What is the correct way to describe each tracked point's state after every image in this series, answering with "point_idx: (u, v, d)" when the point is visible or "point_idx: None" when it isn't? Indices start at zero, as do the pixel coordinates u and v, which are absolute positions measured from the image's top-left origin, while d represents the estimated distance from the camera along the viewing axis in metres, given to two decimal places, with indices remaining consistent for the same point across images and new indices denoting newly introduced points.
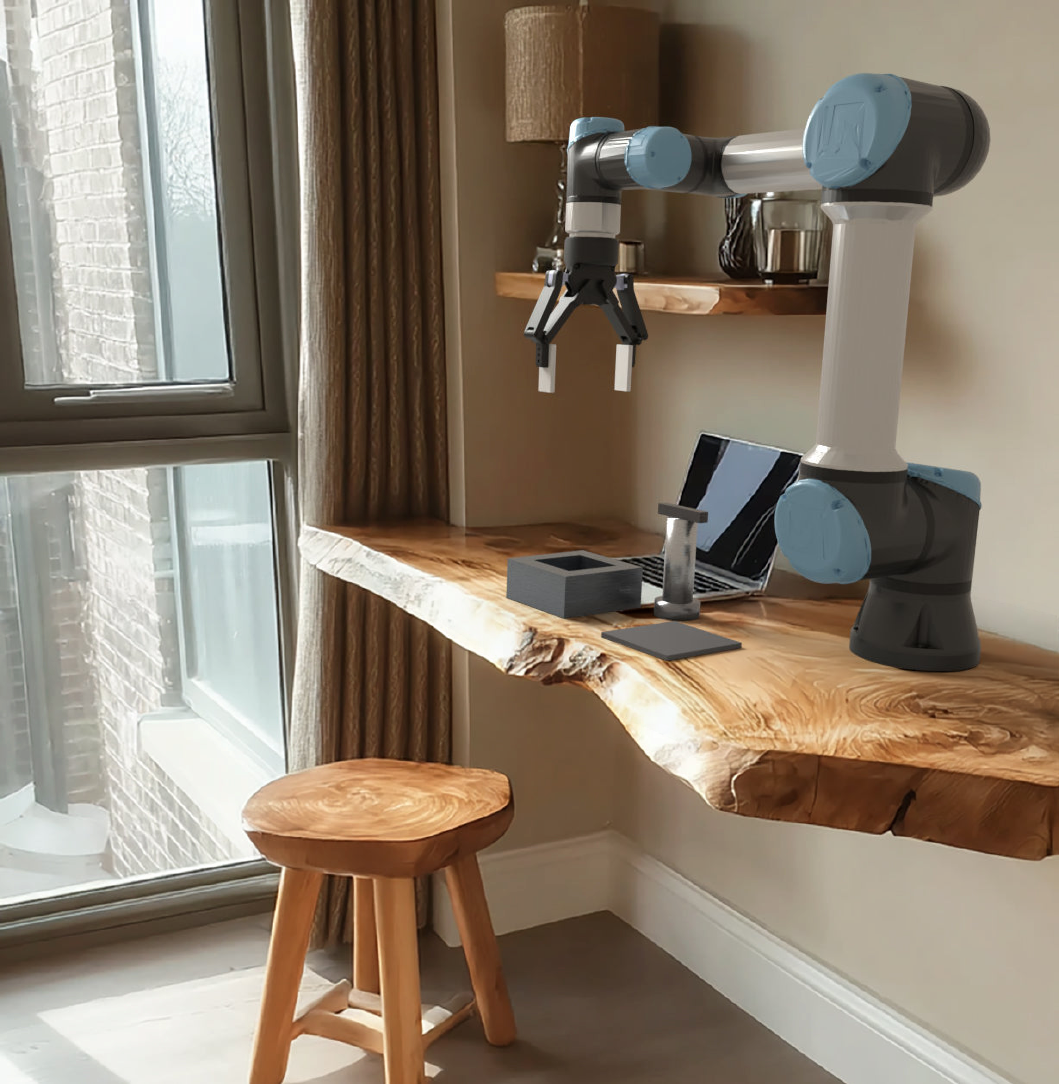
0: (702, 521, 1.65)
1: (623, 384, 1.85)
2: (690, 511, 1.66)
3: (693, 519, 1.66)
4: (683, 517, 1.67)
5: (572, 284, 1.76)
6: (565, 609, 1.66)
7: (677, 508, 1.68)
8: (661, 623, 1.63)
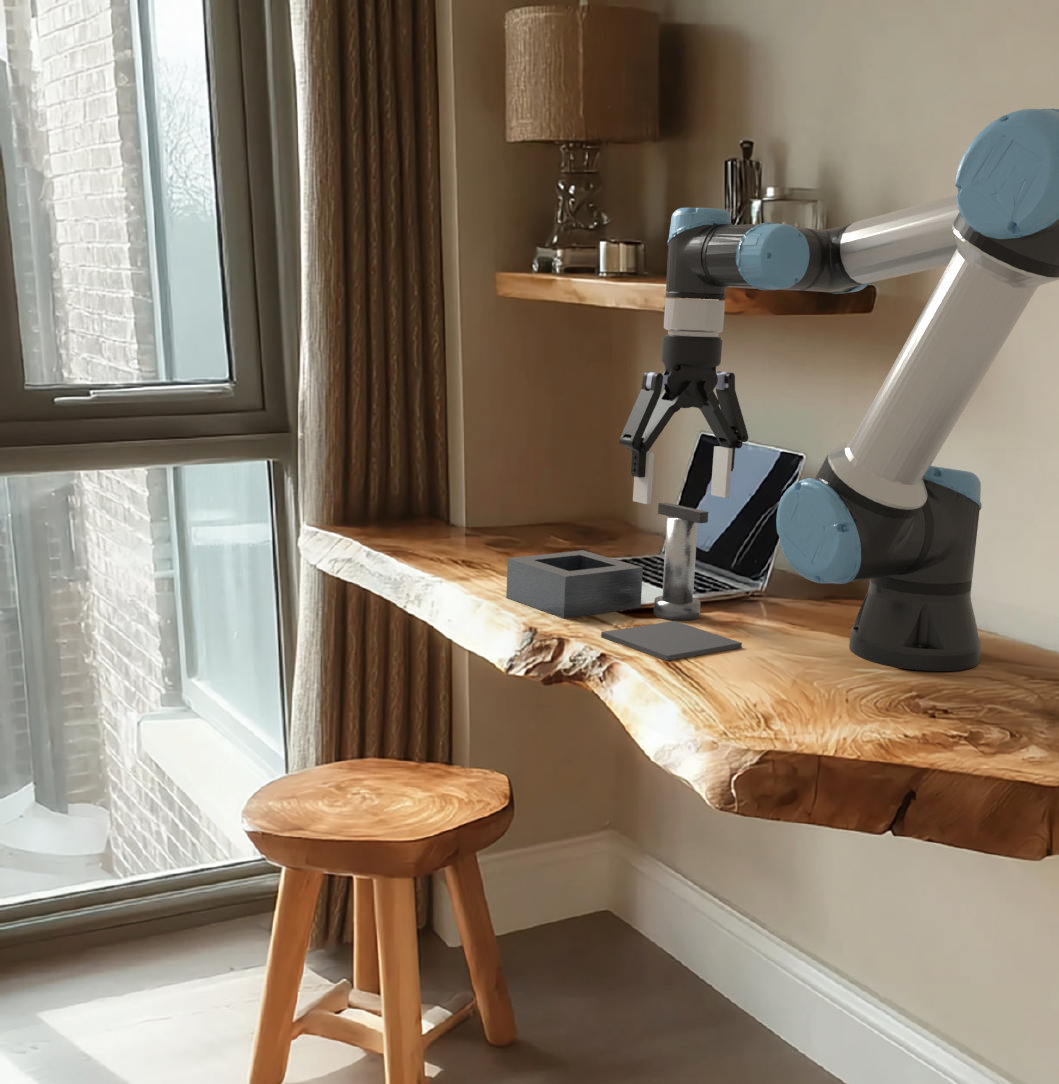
0: (702, 521, 1.65)
1: (721, 490, 1.71)
2: (690, 511, 1.66)
3: (693, 519, 1.66)
4: (683, 517, 1.67)
5: (672, 387, 1.62)
6: (565, 609, 1.66)
7: (677, 508, 1.68)
8: (661, 623, 1.63)
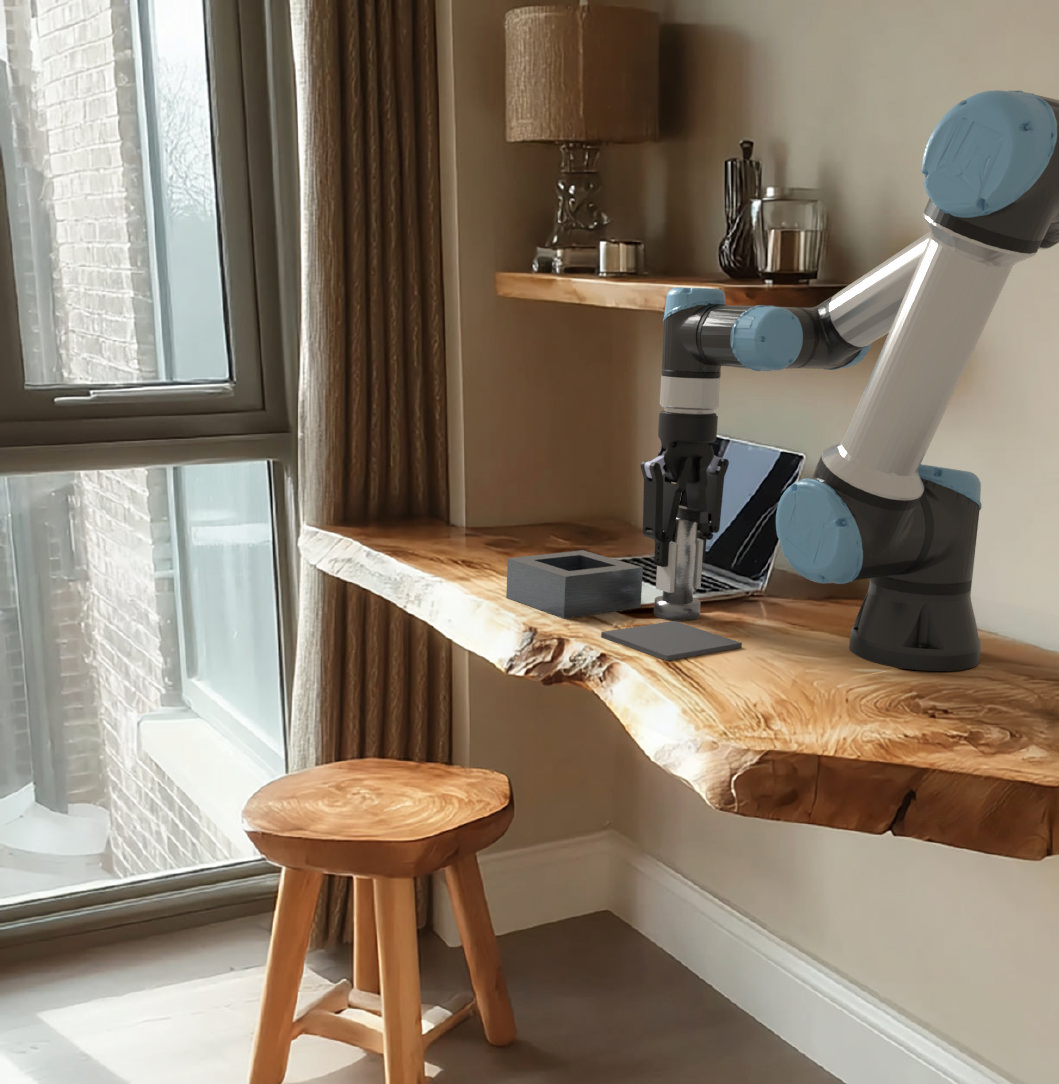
0: (702, 521, 1.65)
1: None
2: (690, 511, 1.66)
3: (693, 518, 1.66)
4: (683, 517, 1.67)
5: (668, 463, 1.64)
6: (565, 609, 1.66)
7: None
8: (661, 623, 1.63)
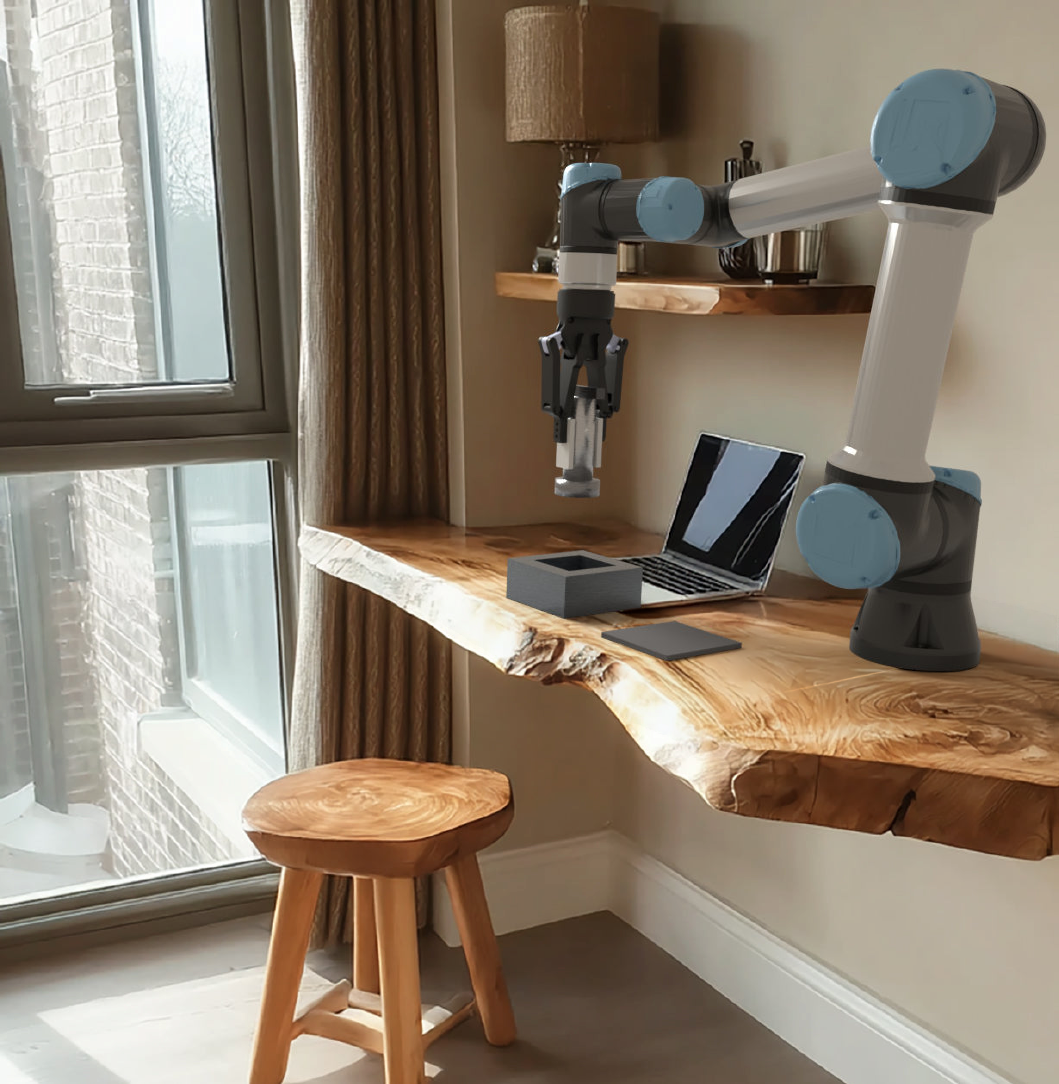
0: (599, 397, 1.67)
1: None
2: (588, 388, 1.68)
3: (590, 395, 1.68)
4: (581, 395, 1.69)
5: (565, 339, 1.66)
6: (565, 609, 1.66)
7: (576, 386, 1.70)
8: (661, 623, 1.63)
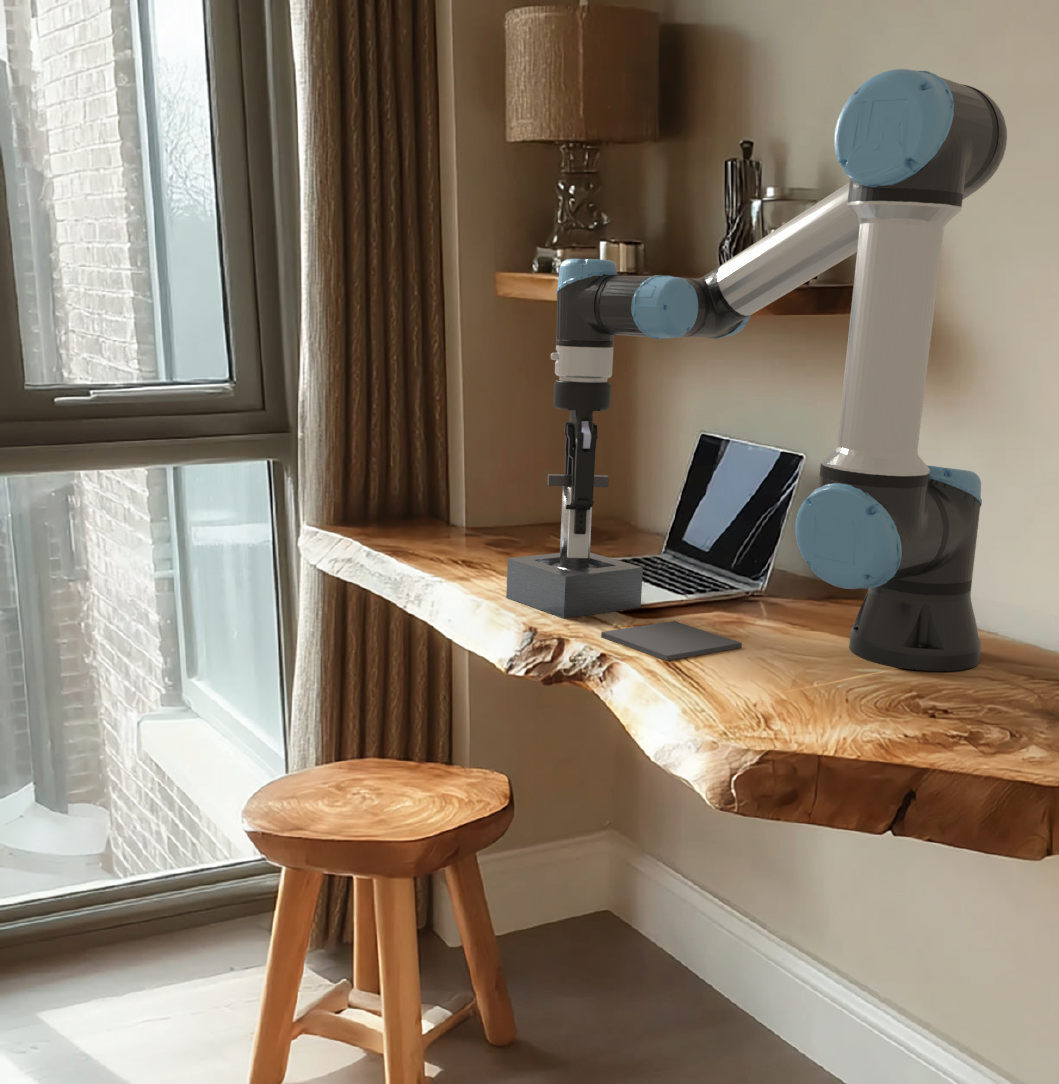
0: (607, 485, 1.73)
1: None
2: (595, 477, 1.72)
3: (599, 484, 1.72)
4: None
5: (591, 432, 1.68)
6: (565, 609, 1.66)
7: None
8: (661, 623, 1.63)
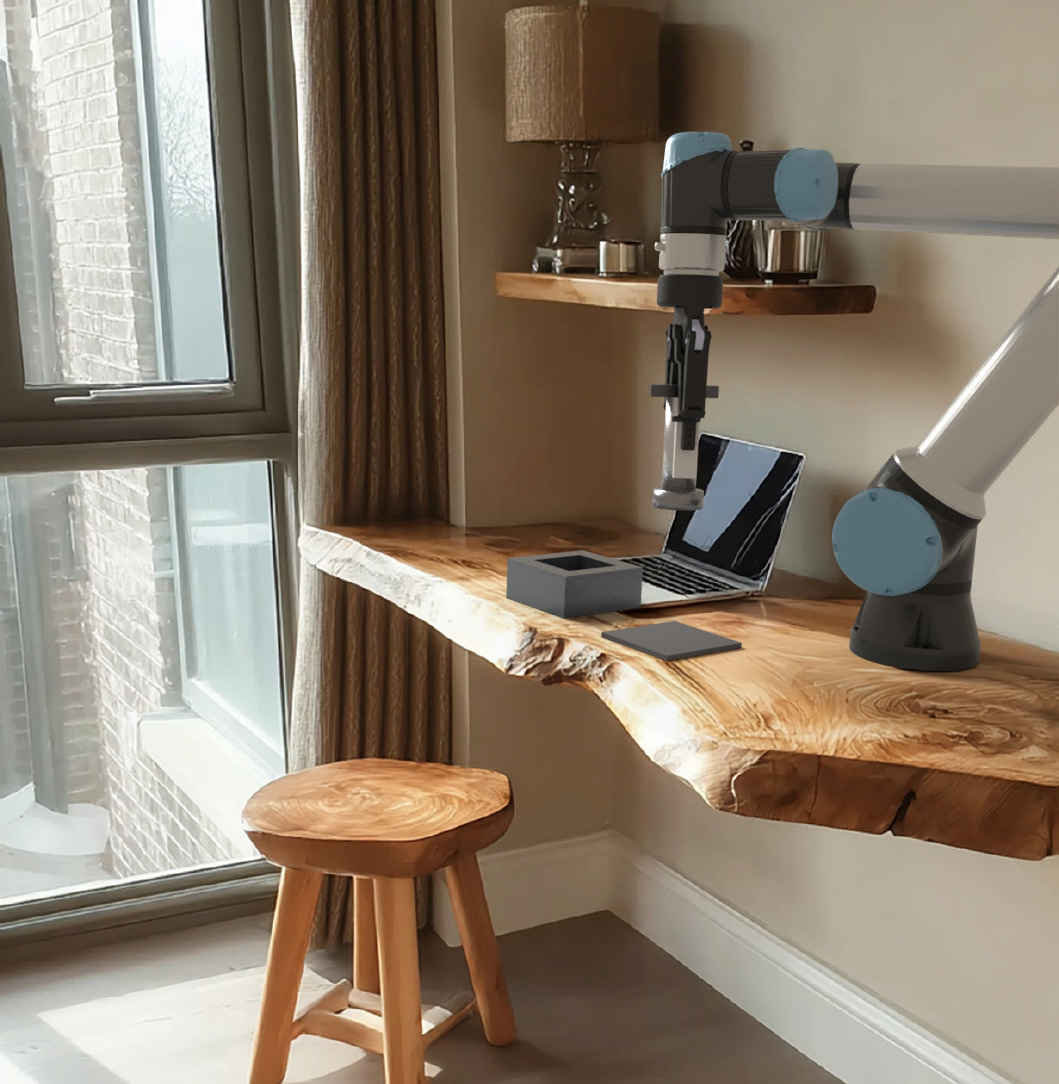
0: None
1: None
2: None
3: (708, 395, 1.51)
4: None
5: None
6: (565, 609, 1.66)
7: None
8: (661, 623, 1.63)
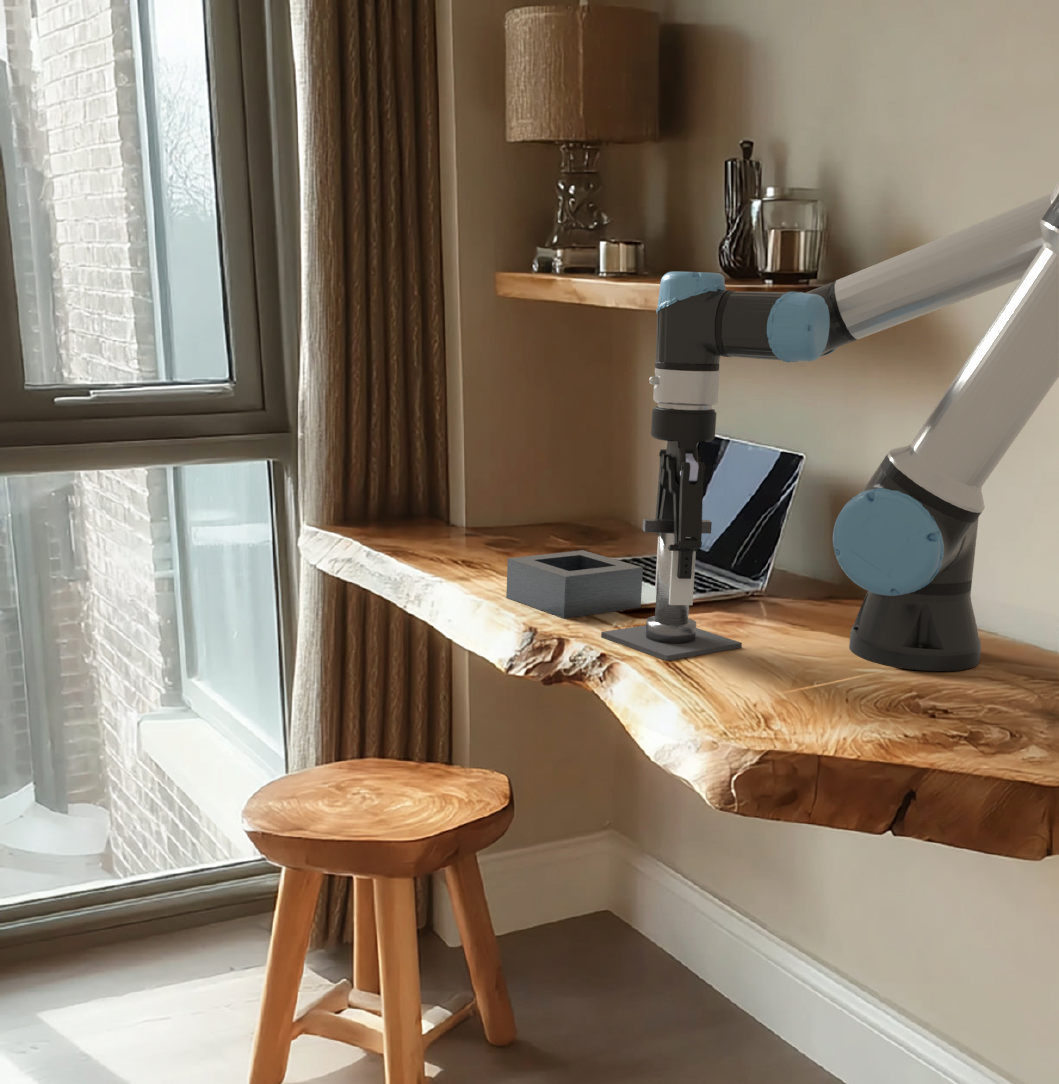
0: None
1: None
2: None
3: None
4: None
5: None
6: (565, 609, 1.66)
7: None
8: None
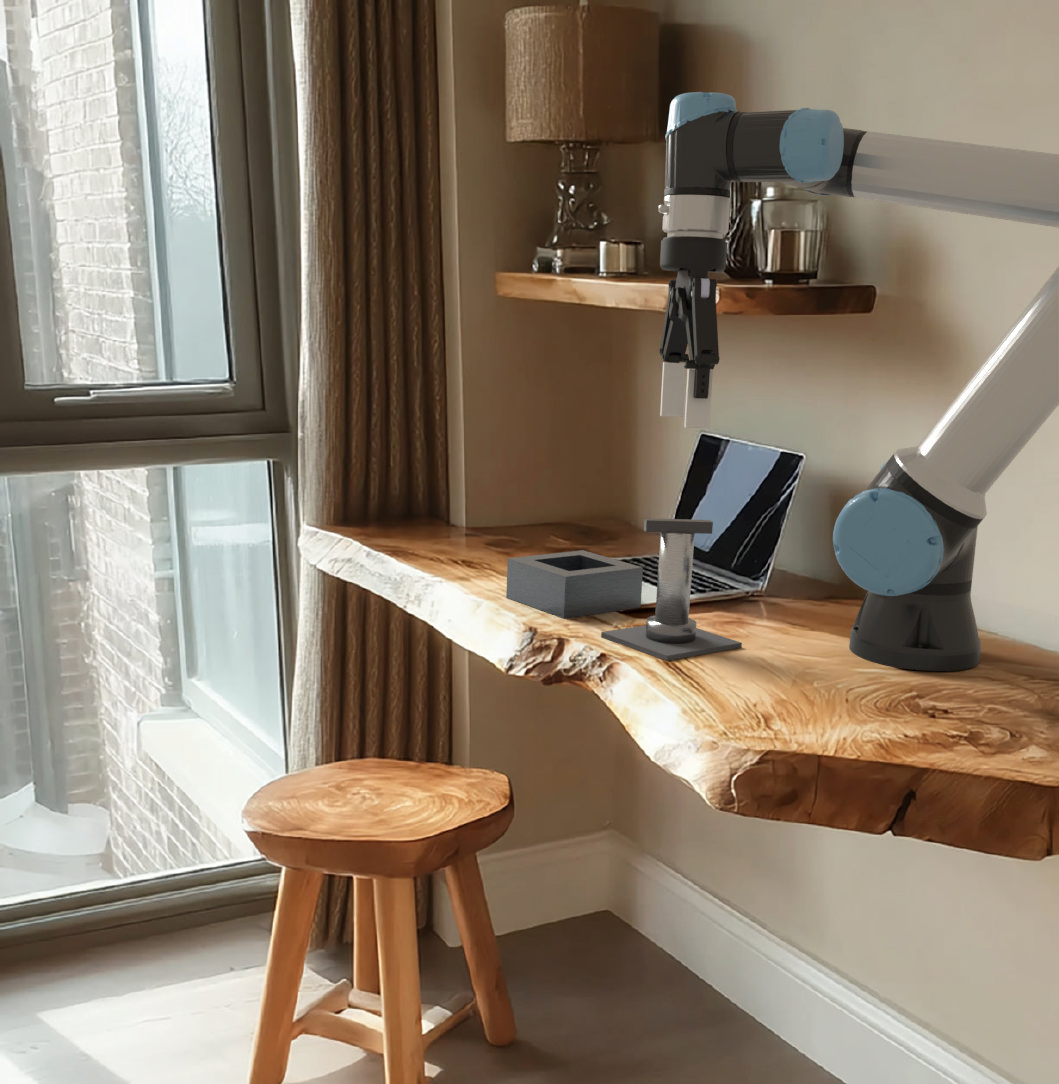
0: None
1: (677, 409, 1.58)
2: (698, 522, 1.54)
3: (702, 530, 1.54)
4: (687, 530, 1.54)
5: None
6: (565, 609, 1.66)
7: (677, 522, 1.53)
8: None
